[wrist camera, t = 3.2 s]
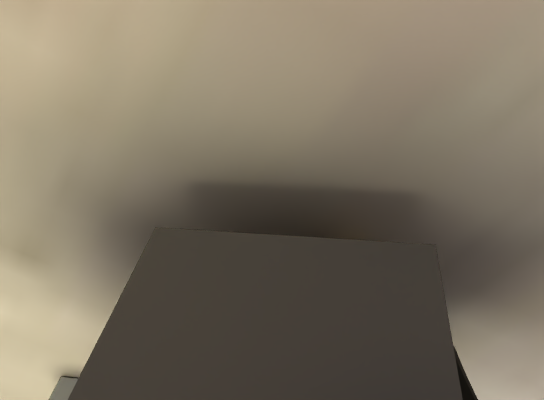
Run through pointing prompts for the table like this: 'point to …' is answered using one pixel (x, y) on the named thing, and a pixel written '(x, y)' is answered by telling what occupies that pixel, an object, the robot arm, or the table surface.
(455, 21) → the table surface
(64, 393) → the socket
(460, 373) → the robot arm
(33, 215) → the table surface
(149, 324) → the plug
